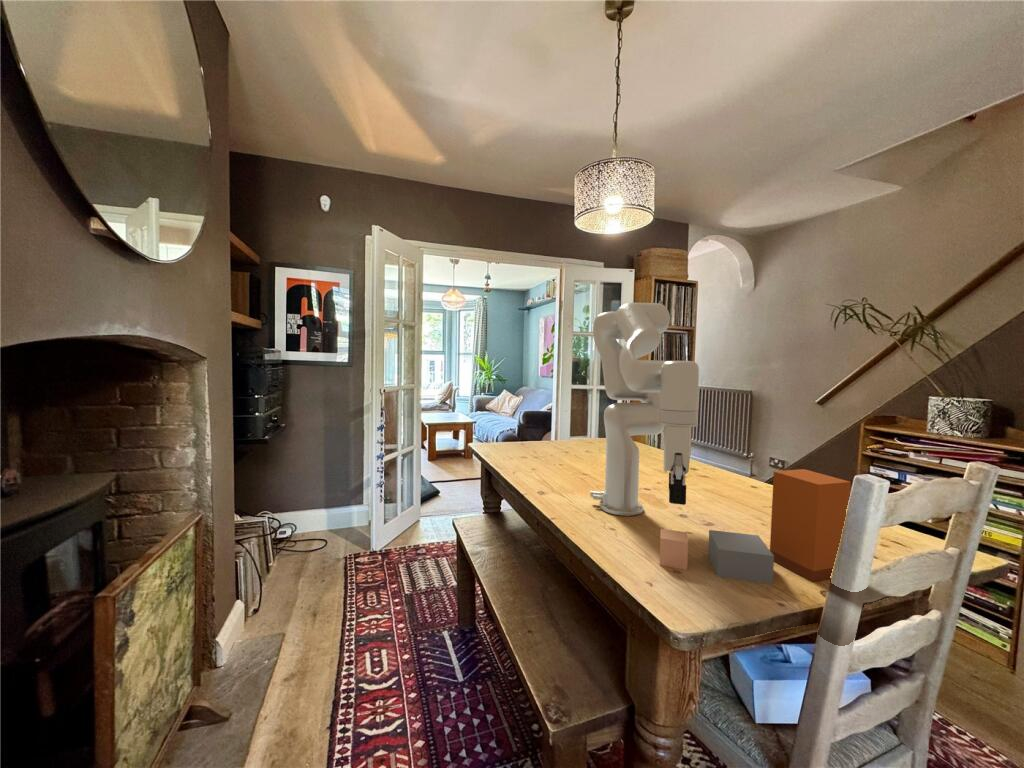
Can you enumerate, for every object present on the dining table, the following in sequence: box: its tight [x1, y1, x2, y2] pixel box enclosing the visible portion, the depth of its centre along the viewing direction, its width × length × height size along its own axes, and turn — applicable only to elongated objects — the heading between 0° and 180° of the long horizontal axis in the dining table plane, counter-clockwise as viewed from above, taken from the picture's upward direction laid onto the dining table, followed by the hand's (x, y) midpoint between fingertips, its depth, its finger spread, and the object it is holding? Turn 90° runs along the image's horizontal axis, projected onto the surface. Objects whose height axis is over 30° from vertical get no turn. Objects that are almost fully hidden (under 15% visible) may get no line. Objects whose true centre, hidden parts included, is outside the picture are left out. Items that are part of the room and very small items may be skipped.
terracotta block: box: [659, 528, 689, 571], centre depth 90 cm, size 6×6×6 cm
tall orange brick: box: [769, 468, 852, 582], centre depth 88 cm, size 10×9×20 cm
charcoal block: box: [707, 529, 775, 585], centre depth 88 cm, size 10×10×6 cm
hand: (676, 496), depth 89 cm, fingers open, 9 cm apart
